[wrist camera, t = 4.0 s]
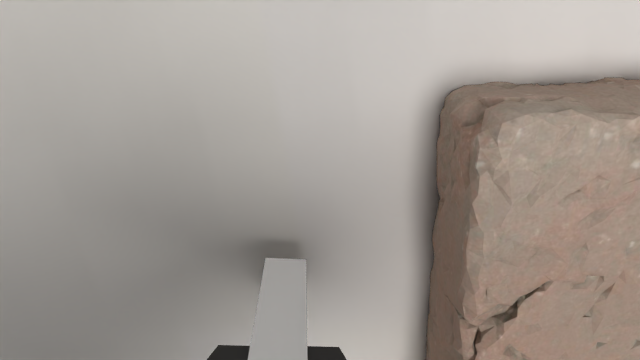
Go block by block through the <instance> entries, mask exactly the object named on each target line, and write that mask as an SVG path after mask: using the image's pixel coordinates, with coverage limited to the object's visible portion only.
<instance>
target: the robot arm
mask: <svg viewBox="0 0 640 360" xmlns="http://www.w3.org/2000/svg"><path fill="white" fill-rule="evenodd" d="M207 360H346V358H345V356H344V355H343V353H342V351H341V350H340V348H339V347H311V346H307V287H306V259H285V258H265V264H264V270H263V275H262V281H261V287H260V292H259V298H258V304H257V309H256V315H255V321H254V326H253V332H252V338H251V343H250V346H228V345H218V346H217V348H216V349H215V350H214V351H213V353H212V354H211V355H210V356H209V358H208V359H207Z"/></svg>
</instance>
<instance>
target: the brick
mask: <svg viewBox="0 0 640 360" xmlns="http://www.w3.org/2000/svg"><path fill="white" fill-rule="evenodd" d="M436 177H437V189H438V193H439V196H440V201H439V202H438V211H437V214H436V218H435V223H434V229H433V236H432V242H433V251H434V262H433V267H432V270H431V273H430V296H429V307H430V313H429V314H428V326H427V345H426V347H427V352H426V360H640V80H625V79H624V78H604V79H600V80H597V81H591V82H589V83H565V84H563V85H555V84H549V85H547V86H544V85H541V86H540V85H539V84H535V85H533V84H520V85H515V84H512V83H507V82H490V83H485V84H479V85H466V86H463V87H461V88H459V89H457V90H454V91H452V92H451V93H450V94H449V95H448V96H447V97H446V98H445V102H444V108H443V109H442V111H441V113H440V135H439V138H438V140H437V168H436Z"/></svg>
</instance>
